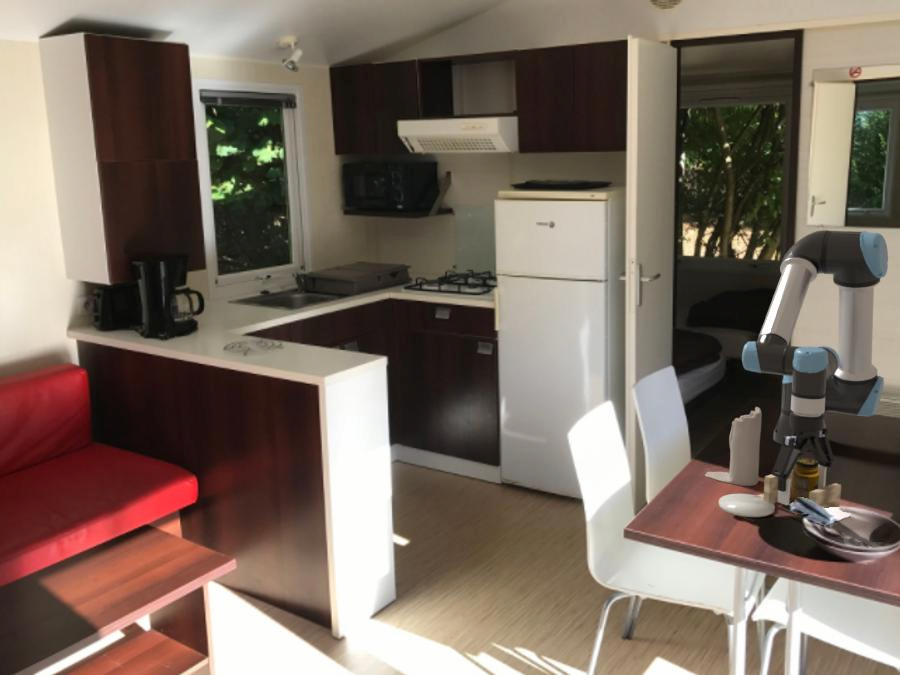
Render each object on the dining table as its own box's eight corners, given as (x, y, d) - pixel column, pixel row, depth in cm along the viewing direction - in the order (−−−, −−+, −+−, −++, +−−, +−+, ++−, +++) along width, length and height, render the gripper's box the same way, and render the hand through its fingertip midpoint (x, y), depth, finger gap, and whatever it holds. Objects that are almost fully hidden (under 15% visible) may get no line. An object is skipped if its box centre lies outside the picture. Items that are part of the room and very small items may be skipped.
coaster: (742, 492, 232) (742, 489, 231) (786, 509, 221) (786, 506, 221) (707, 504, 225) (707, 501, 225) (750, 521, 214) (750, 518, 214)
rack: (779, 491, 232) (781, 464, 231) (850, 516, 216) (852, 488, 214) (753, 499, 227) (754, 472, 226) (824, 526, 211) (826, 497, 209)
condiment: (824, 509, 221) (828, 461, 218) (802, 517, 216) (806, 469, 214) (798, 499, 227) (801, 453, 224) (776, 507, 222) (779, 460, 220)
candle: (709, 469, 248) (713, 398, 244) (761, 479, 240) (765, 406, 236) (700, 477, 243) (703, 405, 238) (752, 488, 235) (757, 413, 231)
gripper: (825, 400, 226) (820, 481, 231) (759, 417, 213) (754, 503, 217) (853, 407, 220) (846, 490, 224) (786, 425, 207) (781, 513, 211)
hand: (801, 497), depth 221 cm, fingers open, 13 cm apart
